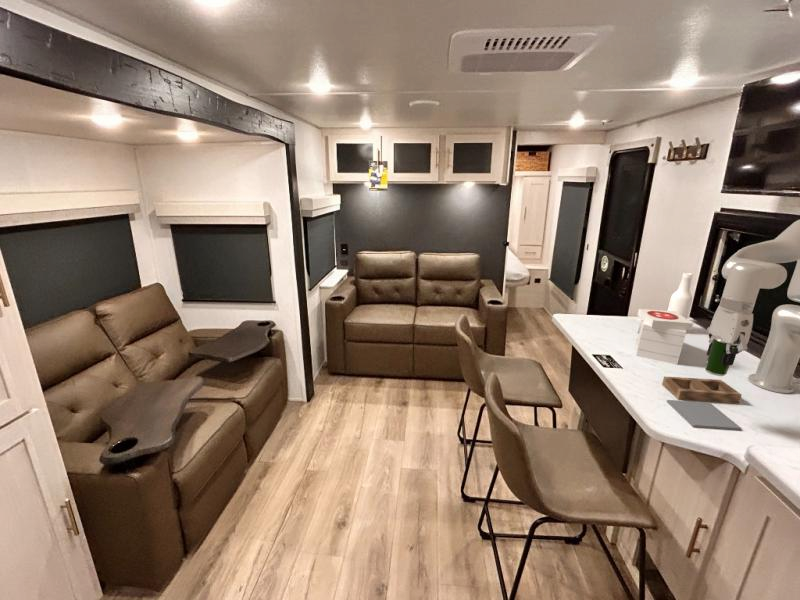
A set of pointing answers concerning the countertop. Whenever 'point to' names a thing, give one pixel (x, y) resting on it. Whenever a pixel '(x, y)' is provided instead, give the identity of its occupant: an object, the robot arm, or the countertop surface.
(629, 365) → the countertop surface
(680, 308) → the alcohol
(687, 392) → the can holder
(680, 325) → the pizza boxes
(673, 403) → the rubber mat
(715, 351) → the beer can
